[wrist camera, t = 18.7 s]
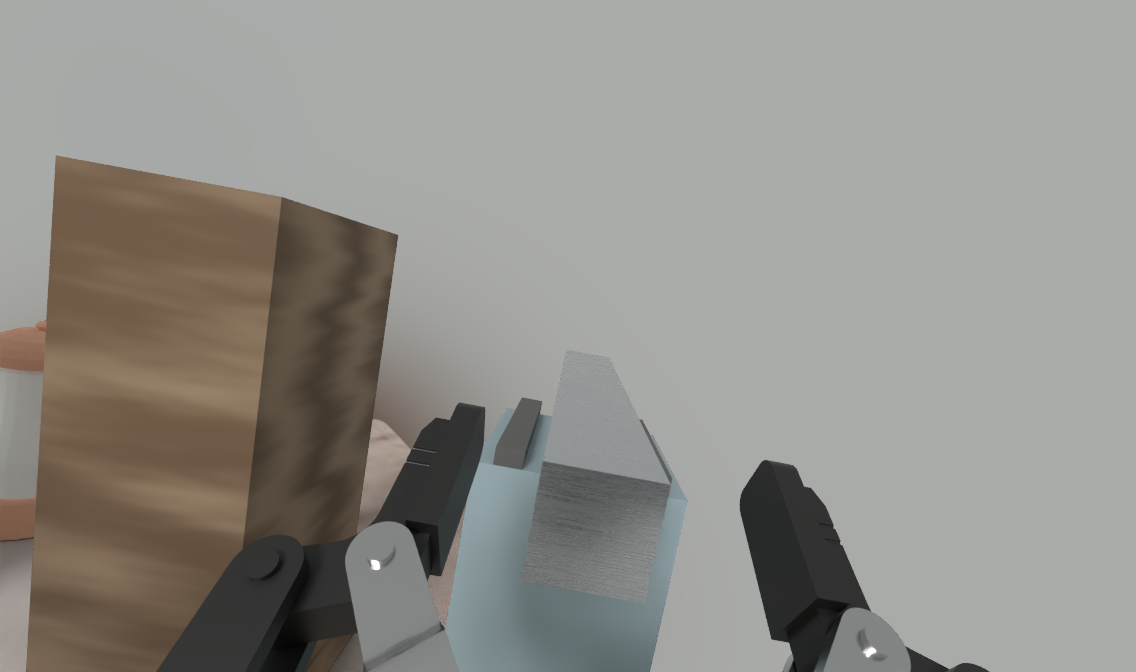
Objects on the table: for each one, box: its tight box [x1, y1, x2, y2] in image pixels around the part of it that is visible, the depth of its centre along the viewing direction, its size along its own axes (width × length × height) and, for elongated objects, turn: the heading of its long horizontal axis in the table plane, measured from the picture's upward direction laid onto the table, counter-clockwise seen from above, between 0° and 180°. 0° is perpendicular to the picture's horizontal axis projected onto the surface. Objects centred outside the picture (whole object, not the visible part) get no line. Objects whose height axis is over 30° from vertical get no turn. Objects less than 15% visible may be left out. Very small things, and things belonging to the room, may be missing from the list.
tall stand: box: [26, 156, 398, 672], centre depth 26 cm, size 14×11×32 cm
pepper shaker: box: [0, 320, 46, 541], centre depth 40 cm, size 7×7×19 cm
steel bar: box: [521, 350, 671, 604], centre depth 26 cm, size 26×4×4 cm, turn 178°
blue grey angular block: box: [445, 398, 688, 672], centre depth 27 cm, size 10×11×22 cm
